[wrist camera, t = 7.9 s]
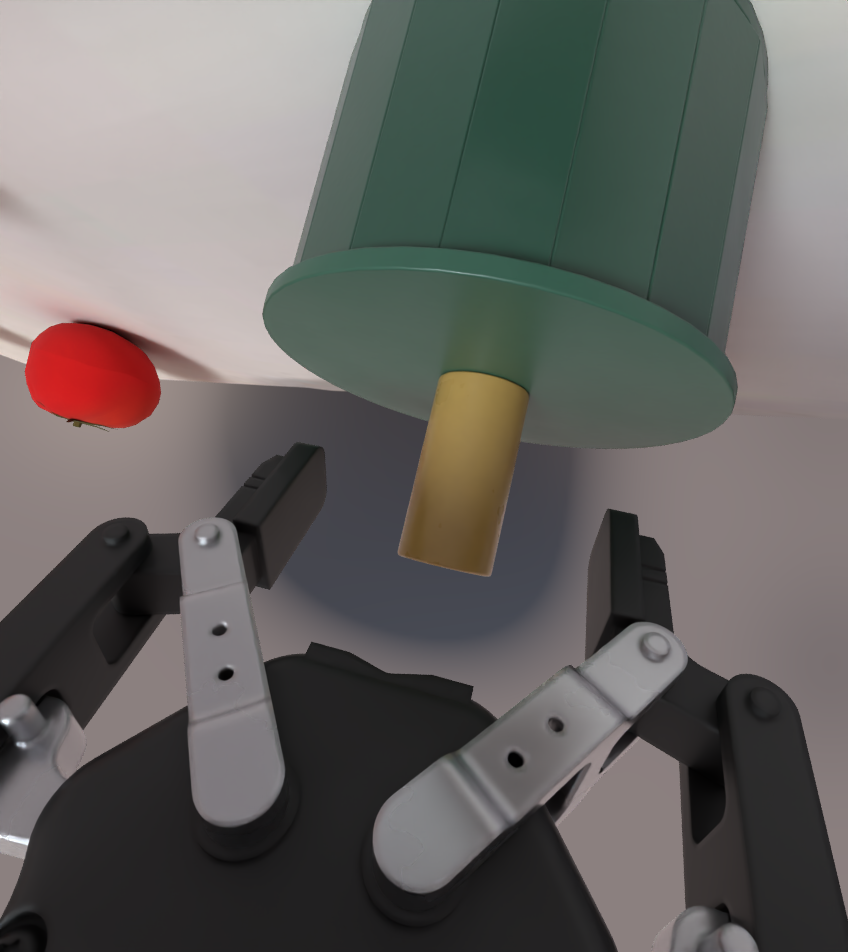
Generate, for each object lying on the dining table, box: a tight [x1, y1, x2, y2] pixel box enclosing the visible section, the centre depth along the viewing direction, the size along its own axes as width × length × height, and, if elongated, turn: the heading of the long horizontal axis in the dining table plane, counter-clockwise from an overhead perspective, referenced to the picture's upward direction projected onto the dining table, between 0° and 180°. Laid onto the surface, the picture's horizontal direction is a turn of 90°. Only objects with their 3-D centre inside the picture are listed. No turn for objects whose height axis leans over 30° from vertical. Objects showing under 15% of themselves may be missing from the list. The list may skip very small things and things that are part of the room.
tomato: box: [25, 323, 161, 430], centre depth 58 cm, size 13×12×11 cm
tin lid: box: [262, 246, 738, 576], centre depth 16 cm, size 13×13×7 cm
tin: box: [293, 0, 768, 354], centre depth 17 cm, size 12×13×8 cm
